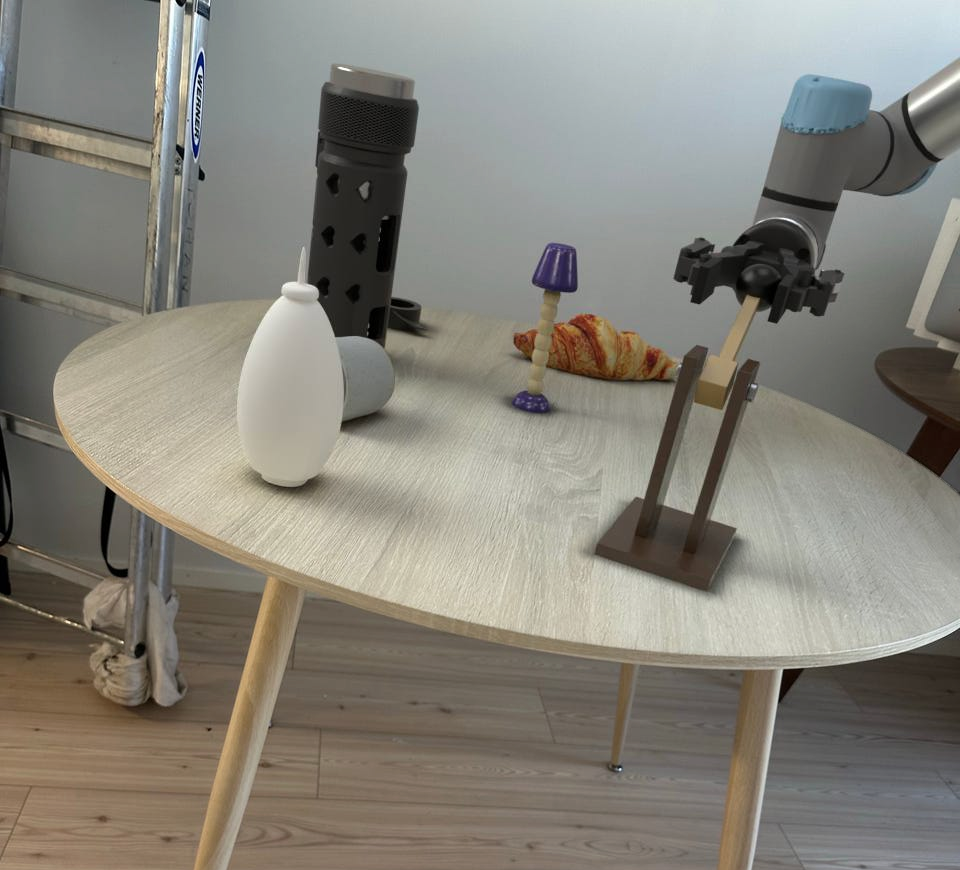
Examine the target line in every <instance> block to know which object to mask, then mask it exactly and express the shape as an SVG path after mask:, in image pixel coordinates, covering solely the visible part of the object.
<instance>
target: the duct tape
mask: <svg viewBox="0 0 960 870" xmlns="http://www.w3.org/2000/svg"><path fill="white" fill-rule="evenodd" d="M421 314H422V305H421V304H420V303H418V302H415V301H414V300H410V299H407V298H401V297H396V296H391V304H390V312H389V319H388V327H387V329H391V330H397V331H407V332H408V331H409V332H410V331H416V330H422V331H427V332H428V331H429V330H428V329H427V328H425V327H423V326H421V324H420V320H421Z"/></svg>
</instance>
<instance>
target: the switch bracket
mask: <svg viewBox="0 0 960 870" xmlns="http://www.w3.org/2000/svg"><path fill="white" fill-rule="evenodd" d="M708 352H709V347H707V346H703V345H700V344H695V345H694V346H693V347H692V348H691V349H689V351H688V352H686V353H685V354H684V355H683V358H682V362H681V361H680V362H678V364H679V365H678V367H677V370H676V373H675V376H674V377H673V381H674V382H676V383H675V387H674V390H673V394H672V397H671V402H670V405H669V408H668V411H667V416H666V419H665V423H664V426H663V430H662V434H661V437H660V440H659V445H658V448H657V452H656V455H655V459H654V463H653V466H652V470H651V473H650V477H649V480H648V483H647V488H646V491H645V494H644V498H642V497H639V496H634V498H633V499H632V500H631V502H630V503H629V504H628V505H627V507H626V508H625V509H624V510H623V511H622V512H621V514H620V515H619V516H618V517H617V519H616V520H615V521H614V522H613V523H612V525H611V526H610V527H609V528H608V529H607V530H606V532H605V533H604V534H603V535H602V537H601V538H600V539H599V540H598V541H597V543H596V546H595V549H594V553H593V554H594V556H597V557H601V558H604V559H607V560H610V561H613V562H616V563H618V564H622V565H625V566H628V567H631V568H634V569H637V570H640V571H643V572H646V573H649V574H652V575H655V576H658V577H661V578H664V579H667V580H670V581H673V582H676V583H679V584H682V585H685V586H688V587H691V588H694V589H696V590H700V591H703V592H705V593H706V592H708V591H709V589H710V587H711V584H712V583H713V581H714V578H715V576H716V575H717V573H718V570H719V569H720V567H721V564H722V563H723V561H724V559H725V557H726V555H727V553H728V550H729V549H730V547H731V545H732V543H733V541H734V539H735V536H736V532H737V530H738V528H737V527H734V526H732V525H728V524H724V523H721V522H719V521H715V520H712V517H713V514H714V510H715V507H716V505H717V501H718V497H719V496H720V492H721V490H722V489H721V488H722V486H723V482H724V479H725V476H726V472H727V470H728V467H729V463H730V461H731V456H732V455H733V451H734V448H735V444H736V441H737V438H738V435H739V432H740V428H741V426H742V423H743V420H744V416H745V413H746V410H747V407H748V404H749V403H753V402H754V401H755V398H756V395H757V392H758V389H759V383H757V382H755V381H756V379H757V375H758V372H759V369H760V365H761V362H760V361H758V360H755V359H751V358H747V359H746V361H744V362H743V364H742V365H741V366H740V367H739V369H737V371H736V375H735V379H734V384H733V387H732V389H731V391H730V394H729V397H728V398H729V399H728V402H727V405H726V408H725V411H724V414H723V417H722V421H721V424H720V428H719V431H718V435H717V437H716V440H715V443H714V447H713V451H712V454H711V457H710V460H709V464H708V467H707V469H706V473H705V477H704V480H703V483H702V486H701V489H700V493H699V496H698V499H697V503H696V506H695V509H694V511H693V514H692V513H689V512H687V511H683V510H680V509H678V508H674V507H670V506H667V505H664V504H665V501H666V497H667V493H668V490H669V487H670V483H671V479H672V476H673V473H674V469H675V466H676V462H677V460H678V455H679V452H680V449H681V445H682V443H683V438H684V435H685V432H686V428H687V424H688V421H689V418H690V414H691V412H692V407H693V404H694V399H695V394H696V388H697V383H698V379H699V377H700V375H701V372H702V370H703V368H704V366H705V364H706V360H707V355H708Z"/></svg>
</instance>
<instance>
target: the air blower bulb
mask: <svg viewBox="0 0 960 870" xmlns="http://www.w3.org/2000/svg"><path fill="white" fill-rule="evenodd" d="M300 253H301V254H300V260H299V267H298V273H297V274H298V276H297V281H288V282H285V283H284V284H283V285H282V287H281V296H280V297H279V298H278V299H277V300H275V302H274V303H273V304H272V305H271V306H270V307H269V309H268V310H267V311H266V313H265V315H264V316H263V318H262V320H261V322H260V323H259V325H258V326H257V329H256V331H255V333H254V336H253V338H252V340H251V342H250V345H249V347H248V350H247V351H246V352H247V353H246V355H245V359H244V361H243V365H242V369H241V372H240V378H239V383H238V388H237V396H236V397H237V399H236V418H237V419H236V421H237V422H236V423H237V430H238V434H239V440H240V443H241V446H242V449H243V452H244V455H245V457H246V459H247V461H248V463H249V466H250V467H251V468H252V469H253V470H254V471H255V472H256V473H259V474H261V478H262V479H263V480H264V481H265V482H267V483H269V484H271V485H275V486H279V487H285V488H296V487H301V486H303V485H305V484H306V483H307V482H308V480H311V479H313V478H315V477H316V476H317V475H319V474H320V472H321V471H322V470H323V468H324V467H325V466H326V464H327V462H328V461H329V459H330V457H331V455H332V454H333V452H334V449H335V447H336V444H337V442H338V439H339V436H340V432H341V428H342V427H341V426H342V422H341V421H342V414H343V403H344V385H343V373H342V366H341V360H340V355H339V350H338V346H337V342H336V339H335V336H334V332H333V330H332V327H331V324H330V322H329V319H328V317H327V315H326V313H325V311H324V309H323V308H322V306H321V305H320V303H319V302H318V301H317V300H316V299H318V297H319V291H318V289H317V288H316V287H315V286H312V285H310V284H307V282H306V266H307V264H306V263H307V262H306V261H307V253H306V248H305V247H304V246H303V247H302V250H301V252H300Z"/></svg>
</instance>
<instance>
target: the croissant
mask: <svg viewBox="0 0 960 870" xmlns="http://www.w3.org/2000/svg"><path fill="white" fill-rule="evenodd" d="M537 334H538V330H537V328H533V329H530V330H528V331H526V332H523V333H522V332H514V333H513V338H512V339H513V345H514V347H515V348H516V349H517V350H518V351H520V352H522V354H524V355H525V357H527V358H530V359H532V354H533V351H534V349H535V344H534V343H535V337H536V335H537ZM551 339H552V341H551V346H550V348H549V350H548V352H549V359H548V362H547V364H546V367H548V368H551V369H556V370H561V371H566V372H568V373H570V374H573V375H580V376H586V377H587V376H588V377H591V378H599V379H603V380H612V381H613V380H614V381H628V380H634V381H644V380H645V381H650V380H652V379H653V380H656V381H666V380H670V379H672V378H674V377H675V373H676V370H677V367H678V365H679V362H677V361H673V360H672V359H671V358H670V357H669V356H668V354H667V353H666V352H664V350H663V349H662V348H655V347H652V346H651V344H649V343H648V342H646V341H645V340H643V338H642V336H640V335H639V333H638V332H634V331H628V330H624V329H621V332H618V330H617V329H616V328H615V326H614V323H612V322H611V321H610V320H609V319H607V318H605V317H602V316H599V315H596V314H592V313H579V314H577V315H576V316H575V317H573V318H572V317H571V318H570V319H569V321H568V322H567V323H566V322H562V321H561V322H557V323H554V330H553V333H552V334H551Z"/></svg>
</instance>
